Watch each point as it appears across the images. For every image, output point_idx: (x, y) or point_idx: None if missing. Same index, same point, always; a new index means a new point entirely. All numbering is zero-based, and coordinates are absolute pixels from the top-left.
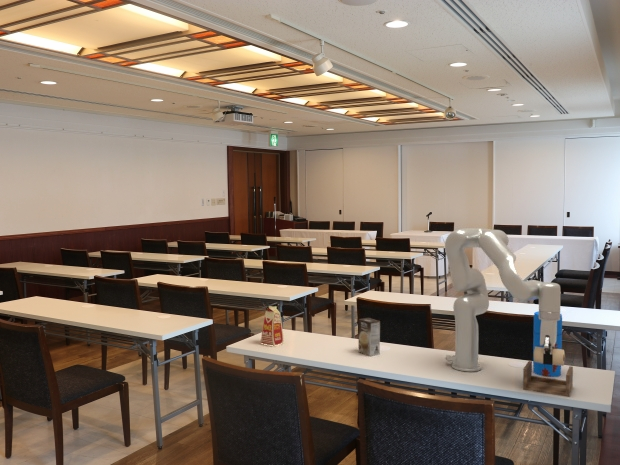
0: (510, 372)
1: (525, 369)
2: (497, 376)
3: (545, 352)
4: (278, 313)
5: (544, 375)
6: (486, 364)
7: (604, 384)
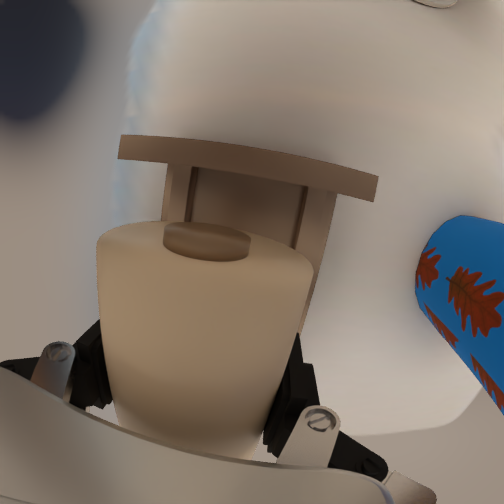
0: (434, 105)
1: (121, 149)
2: (348, 36)
3: (36, 361)
4: None
5: (421, 260)
6: (480, 42)
7: (344, 430)
